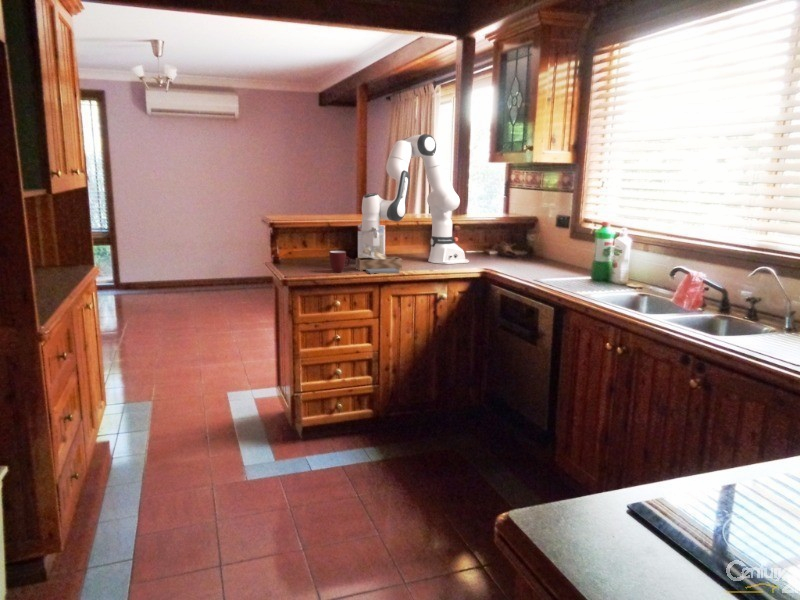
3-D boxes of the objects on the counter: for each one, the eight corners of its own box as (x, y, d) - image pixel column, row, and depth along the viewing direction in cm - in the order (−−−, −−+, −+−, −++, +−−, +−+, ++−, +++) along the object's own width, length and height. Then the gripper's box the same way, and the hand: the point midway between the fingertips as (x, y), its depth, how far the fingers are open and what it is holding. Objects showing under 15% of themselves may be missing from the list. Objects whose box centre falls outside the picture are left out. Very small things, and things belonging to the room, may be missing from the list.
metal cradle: (394, 265, 317) (395, 262, 317) (398, 267, 312) (399, 263, 312) (360, 253, 310) (361, 249, 310) (363, 255, 305) (364, 251, 304)
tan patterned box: (396, 267, 319) (397, 256, 318) (401, 269, 311) (402, 258, 310) (355, 268, 312) (355, 257, 311) (359, 271, 305) (359, 260, 303)
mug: (344, 269, 308) (344, 250, 306) (353, 272, 301) (353, 251, 299) (326, 271, 301) (326, 251, 299) (335, 274, 295) (335, 253, 293)
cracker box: (385, 263, 330) (385, 224, 326) (383, 265, 324) (384, 225, 320) (359, 262, 331) (359, 223, 327) (357, 264, 325) (357, 224, 321)
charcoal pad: (394, 270, 309) (394, 268, 308) (399, 273, 302) (399, 270, 301) (365, 271, 304) (365, 269, 304) (369, 274, 297) (369, 271, 297)
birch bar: (382, 259, 313) (383, 254, 313) (384, 260, 309) (386, 255, 309) (362, 252, 309) (364, 247, 309) (364, 253, 305) (366, 248, 305)
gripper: (382, 228, 297) (382, 257, 300) (371, 224, 316) (370, 251, 319) (370, 228, 295) (370, 257, 298) (359, 224, 314) (359, 251, 317)
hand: (370, 254), depth 309 cm, fingers open, 5 cm apart
